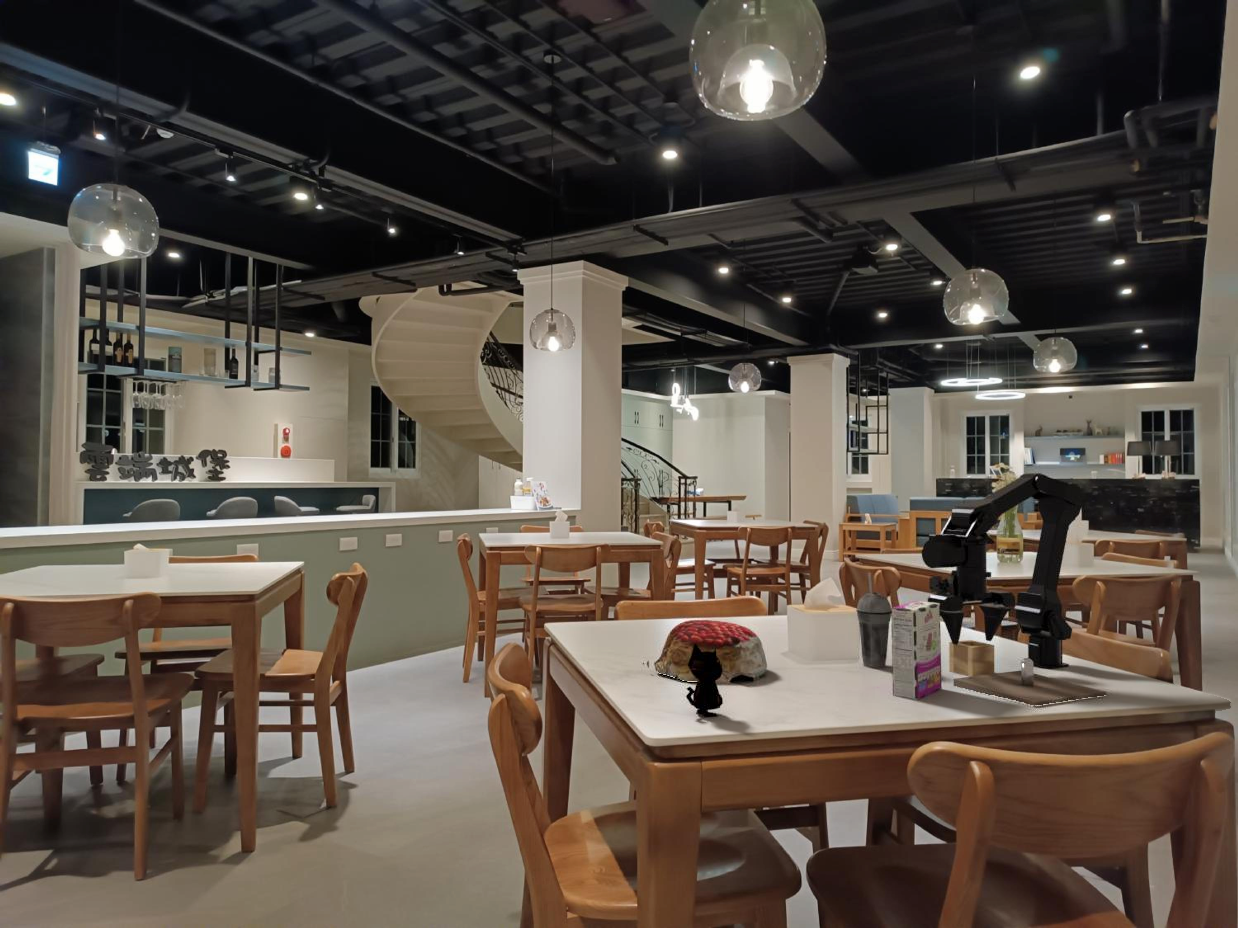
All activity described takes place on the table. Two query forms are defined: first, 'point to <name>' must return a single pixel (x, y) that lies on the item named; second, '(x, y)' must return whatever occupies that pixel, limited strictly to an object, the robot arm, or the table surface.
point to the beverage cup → (874, 627)
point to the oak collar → (971, 658)
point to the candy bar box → (916, 649)
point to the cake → (712, 650)
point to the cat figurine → (705, 681)
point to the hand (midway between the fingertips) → (972, 642)
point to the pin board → (1027, 686)
